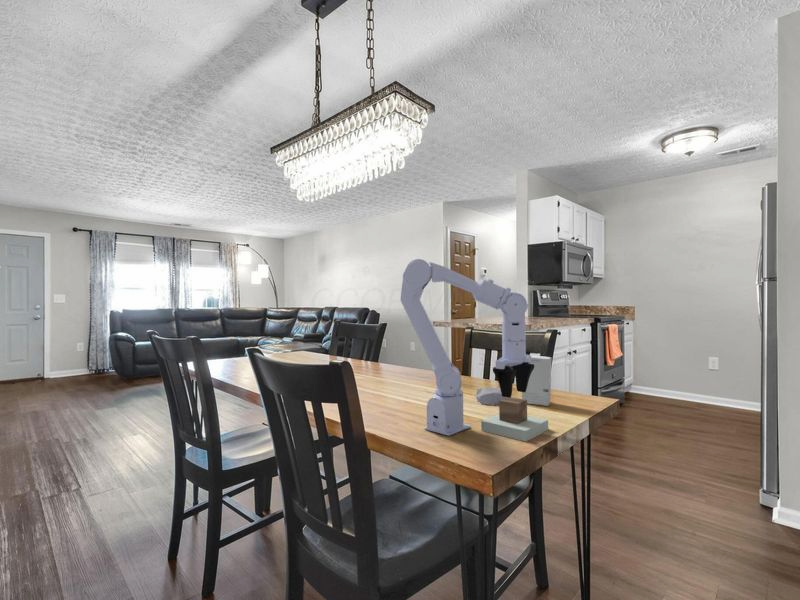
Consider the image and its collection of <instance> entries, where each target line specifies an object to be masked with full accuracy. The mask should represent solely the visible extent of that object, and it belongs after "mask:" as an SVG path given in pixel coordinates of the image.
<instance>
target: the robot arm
mask: <svg viewBox="0 0 800 600" xmlns="http://www.w3.org/2000/svg"><path fill="white" fill-rule="evenodd" d="M430 281H431V282H432V283H442V282H444V283H446V284H449V285H451V286H454V287H457V288H459V289H461V290H464V291H467V292H468V293H471V294H472V296H473V299H474V300H475V301H477V302H479V303H481V304H484V305H485V306H488V307H490V308H493V309H495V310H501V311H502V323H501V329H502V330H501V335H502V336H501V340H502V341H501V345H502V346H501V348H502V349H501V350H502V351H501V352H502V353H501V355H502V356H501V357H500V358H499V359H497V360H495V361H494V362H495V366H493V367H492V372H493V373H494V376H495V377H496V381H497V382H498V385H499V388H500V389H501V393H502V396H503V397H508V398H510V397H512V395H513V385H514V380H515V385H516V386H515V387H516V391H517V392H521V393H522V392H526V389H527V385H528V381H529V378H530V375H531V373H532V371H533V369H534V364H529V363H531V354H527V351H526V349H527V344H526V343H527V342H526V341H527V339H526V338H527V334H526V333H527V330H526V323H527V322H526V312H527V310H528V307H529V304H528V301H527V299H526V298H525V296H524V295H523V294H521V293H518V292H511V291H512V289H511V288H510V287H507V288H505V287H503V286H501V285H498V284H496V283H494V280H493V279H490V278H489V279H488V280H487V279H481V280H479V281H476V280H473V279H471V278H469V277H467V276H466V275H464V274H461V273H459V272H458V271H455V270H452V269H450V268H448V267H446V266H443V265H441V264H437V263H434V262H430V261H429V262H427V261H426V260H424V259H420V258H417V259H412V260H411V261H410V262H409V263H408V264H407V266H406V267H405V269H404V271H403V274H402V284H401V289H400V290H401V291H400V302H401V304H402V306H403V309H404V311H405V312H406V314H407V318H409V321H410V323H411V325H412V327H413V330H414V332H415V334H416V335H417V337H418V339H419V341H420V343H421V346H422V348H423V351H425V352H424V353H426V356H427V358H428V360H429V362H430V364H431V368H432V371H433V373H434V375H435V377H436V378H435V386H436V388H435V390H434V394H433V397H431V398H430V399H428V401H427V403H426V426H424V428H423V429H424V430H426V431H430V432H433V433H437V434H441V435H443V436H452V435H454V434H457V433H460V432H462V431H465V430H466V429H469V428H472V427H471V425H470V424H467V423H465V422H464V391H463V390H462V389H461V388H462V383H463V381H462V375H461V372H460V369H459V368H458V367H457V366H455V365H454V364H453V363H452V362H451V359H450V357H449V355H448V354H447V351H446V349H445V348H444V346H443V344H442V342H441V339H439V336H438V334H437V332H436V330H435V328H434V326H433V324H432V321H431V319H430V318H429V316H428V314H427V311H426V310H425V307H424V306H423V304H422V302H421V298H422V295H423V292H424V290H425V288H426V286H428V284H429V283H430ZM511 367H512V368H511Z"/></svg>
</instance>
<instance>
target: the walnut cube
mask: <svg viewBox="0 0 800 600" xmlns="http://www.w3.org/2000/svg"><path fill="white" fill-rule="evenodd" d="M498 409H499V413H498V414H499V419H500V421H505V422H510V423H514V424H519V423H522V422H524V421H526V420H527V416H528V404H527V400H524V399H522V398H519V397H512V396H511V397H510V398H505V399H502V400H499V405H498Z"/></svg>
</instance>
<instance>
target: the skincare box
mask: <svg viewBox="0 0 800 600" xmlns="http://www.w3.org/2000/svg"><path fill="white" fill-rule="evenodd" d="M530 355H531V354H530ZM552 363H553V362H552V357H551V356H541V355H531V363H529V364H534V369H533V371H532V373H531V375H530V378H529V381H528V385H527V389H526V392H521V399H524V400H527V405H538V406H545V407H549V406H550V403H551V389H552Z"/></svg>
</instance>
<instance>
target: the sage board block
mask: <svg viewBox="0 0 800 600" xmlns="http://www.w3.org/2000/svg"><path fill="white" fill-rule="evenodd" d="M480 421H481V422H480V423H481V424H480V426H481V427H480V428H481V429H480V431H481V432H487V433H490V434H493V435H499V436H502V437H506V438H510V439H512V440H513V439H514V440H518V441H522V442H528V441H529V440H530V441H531V440H532V439H534V438H535V437H538V436H539V435H541V434H543V433H545V432H546V431H549V419H547V418H541V417H536V416H532V415H527V420H526V421H524V422H522V423H519V424H514V423H510V422H505V421H500V419H499V413H497V414H495V415H493V416H490V417H489V416H488V417H487V418H484V419H482V420H480ZM544 431H545V432H544Z"/></svg>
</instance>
